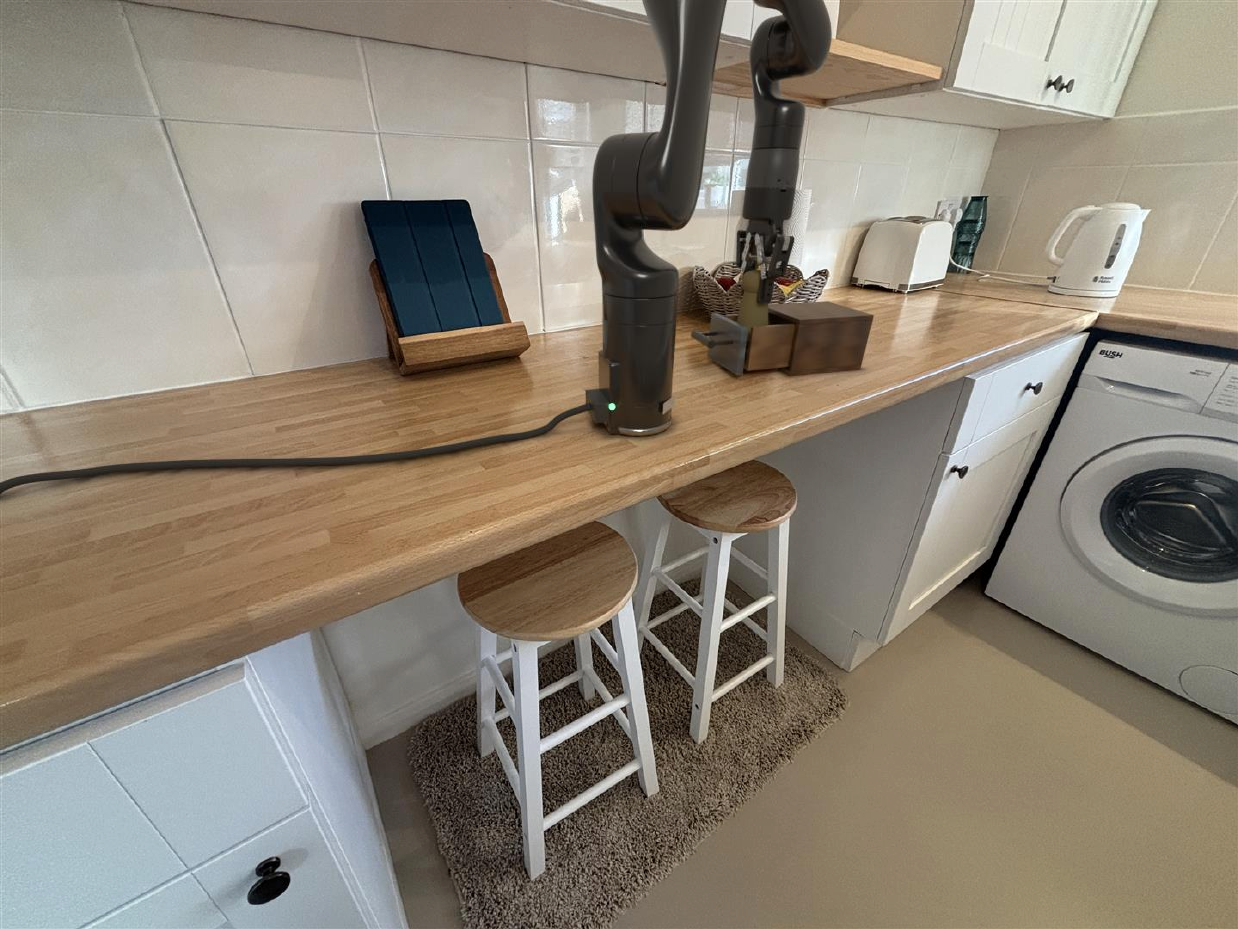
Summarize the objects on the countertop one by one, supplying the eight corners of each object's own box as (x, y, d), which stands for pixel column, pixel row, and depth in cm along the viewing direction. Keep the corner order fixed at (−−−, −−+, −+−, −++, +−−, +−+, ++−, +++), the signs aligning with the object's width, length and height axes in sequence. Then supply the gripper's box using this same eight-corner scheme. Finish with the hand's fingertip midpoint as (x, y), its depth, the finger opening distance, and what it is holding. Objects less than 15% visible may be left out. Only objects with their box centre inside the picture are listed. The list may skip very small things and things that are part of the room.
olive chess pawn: (764, 333, 89) (774, 268, 84) (770, 341, 84) (781, 273, 79) (731, 332, 90) (738, 267, 84) (734, 340, 84) (742, 272, 79)
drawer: (710, 377, 82) (715, 330, 78) (684, 357, 91) (687, 314, 88) (805, 368, 86) (814, 323, 82) (770, 350, 96) (777, 309, 92)
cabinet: (789, 376, 85) (800, 319, 81) (753, 355, 96) (760, 304, 91) (860, 369, 89) (874, 315, 84) (817, 350, 99) (827, 301, 95)
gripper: (726, 184, 80) (716, 293, 89) (774, 184, 68) (756, 309, 77) (767, 185, 82) (753, 291, 91) (820, 184, 70) (798, 307, 79)
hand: (755, 299), depth 84 cm, fingers closed on olive chess pawn, 5 cm apart
